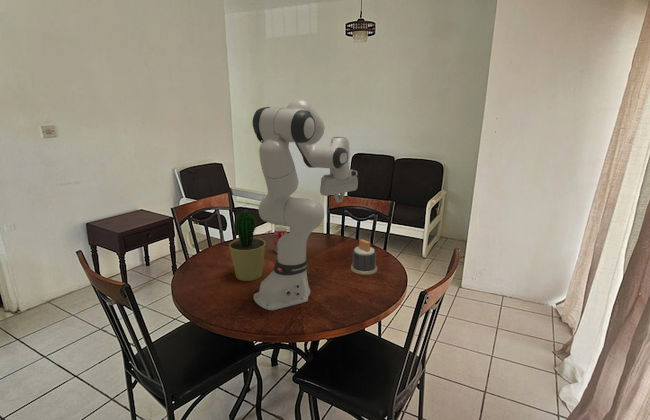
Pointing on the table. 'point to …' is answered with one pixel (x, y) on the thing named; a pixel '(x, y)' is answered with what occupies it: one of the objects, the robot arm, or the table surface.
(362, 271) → the cylinder
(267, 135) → the robot arm
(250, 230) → the potted cactus
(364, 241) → the cap
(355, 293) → the table surface
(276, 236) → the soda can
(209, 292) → the table surface
